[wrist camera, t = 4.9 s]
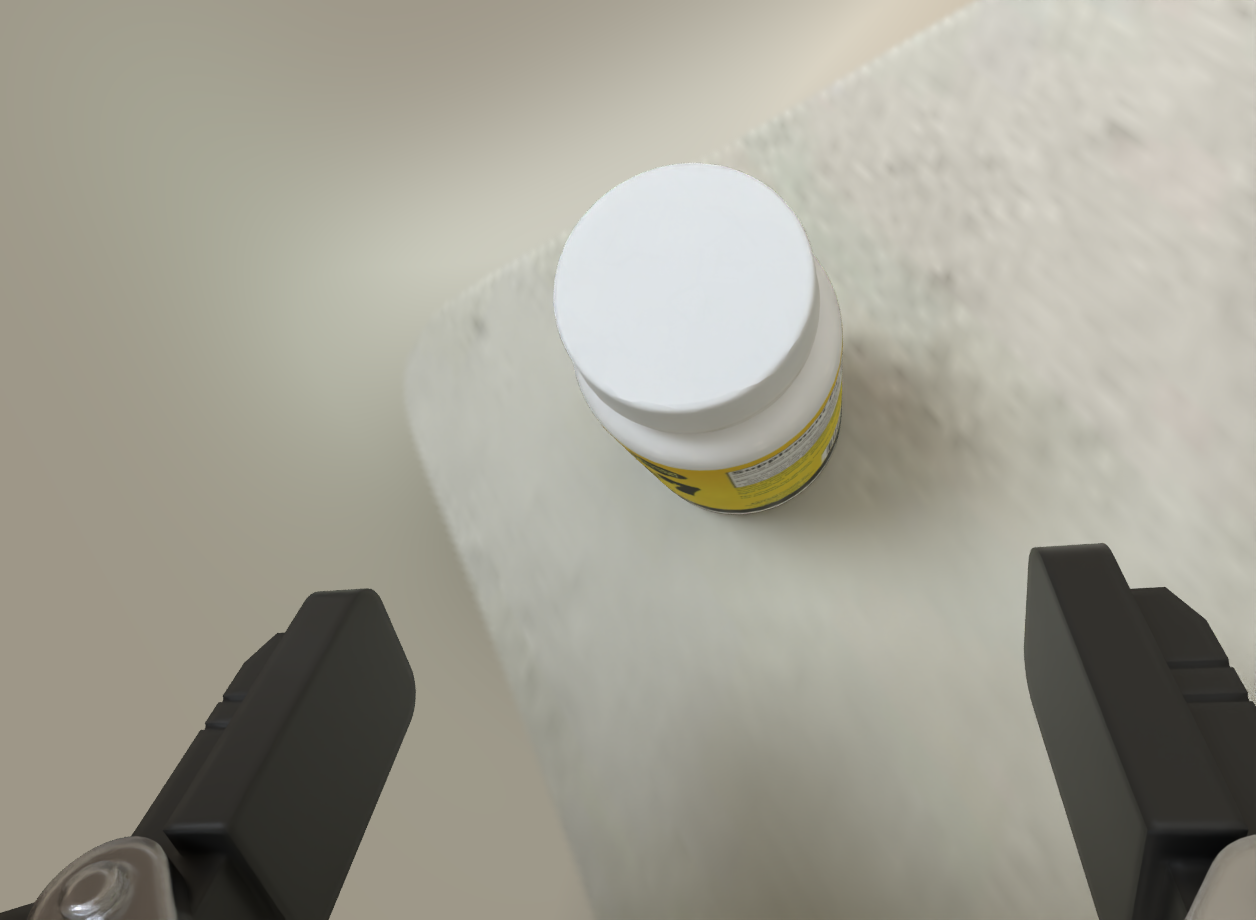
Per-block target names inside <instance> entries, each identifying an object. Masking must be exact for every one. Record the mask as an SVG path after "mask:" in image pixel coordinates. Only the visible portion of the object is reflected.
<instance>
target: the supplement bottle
mask: <svg viewBox="0 0 1256 920" xmlns="http://www.w3.org/2000/svg"><path fill="white" fill-rule="evenodd" d="M553 305H554V313H555V319H556V324H557V328H558V332H559V335H560V338H561V340H562V343H563V345H564V347H565V349H566V351H567V353H568V355H569V357H570V358H571V360H572V362H573V365H574V370H575V374H576V378H577V381H578V384H579V387H580V389H581V392H582V394H583V396H584V398H585V401H586V402H587V404H588V405H589V407H590V409H591V410H592V412H593V414H594V415H595V417H596V418H597V419H598V420H599V422H600V423H601V425H602V426H603V427H604V428H605V429H606V430H607V431H608V432H609V433H610V434H611V435H612V436H613V437H614V438H615V439H616V440H617V441H618V442H619V443H620V444H621V445H622V446H623V447H625V448H626V449H627V450H628V451H629V452H630V453H631V454H632V455H633V456H634V457H635V458H636V459H637V460H638V461H639V462H640V463H642V464H643V465H644V466H645V467H646V468H647V469H648V470H649V471H650V472H651V473H653V474H654V475H655V476H656V477H657V478H658V479H659V480H660V481H661V482H662V483H663V484H665V485H666V486H667V487H668V488H669V489H671V490H672V491H673V492H674V493H676V494H677V495H678V496H680V497H681V498H683V499H684V500H686V501H688V502H690V503H692V504H694V505H696V506H698V507H701V508H703V509H706V510H710V511H713V512H718V513H725V514H749V513H755V512H760V511H765V510H768V509H771V508H774V507H776V506H779V505H781V504H783V503H785V502H787V501H789V500H790V499H792V498H793V497H795V496H797V495H798V494H799V493H801V492H802V491H803V490H804V489H806V488H807V487H808V486H809V485H810V484H811V483H812V482H813V481H814V480H815V479H816V478H817V476H818V475H819V474H820V473H821V471H822V470H823V468H824V467H825V465H826V464H827V462H828V460H829V458H830V456H831V454H832V452H833V450H834V447H835V445H836V442H837V438H838V434H839V430H840V423H841V414H842V354H843V353H842V348H843V331H842V320H841V314H840V308H839V304H838V300H837V296H836V293H835V291H834V288H833V286H832V284H831V281H830V279H829V277H828V275H827V273H826V272H825V270H824V269H823V267H822V265H821V264H820V262H819V261H818V259H817V258H816V257H815V256H814V254H813V251H812V248H811V244H810V242H809V239H808V236H807V233H806V231H805V229H804V227H803V225H802V223H801V222H800V220H799V219H798V217H797V216H796V214H795V213H794V211H793V210H792V209H791V208H790V207H789V205H788V204H787V203H786V202H785V201H784V200H783V198H782V197H781V196H779V195H778V194H777V193H776V192H775V191H774V190H773V189H772V188H770V187H769V186H767V185H766V184H764V183H763V182H761V181H760V180H758V179H756V178H754V177H752V176H750V175H748V174H746V173H744V172H741V171H739V170H736V169H733V168H729V167H725V166H720V165H716V164H704V163H680V164H672V165H667V166H662V167H658V168H654V169H651V170H648V171H645V172H643V173H641V174H638V175H636V176H634V177H632V178H630V179H628V180H626V181H624V182H622V183H620V184H619V185H617V186H616V187H615V188H613V189H612V190H610V191H608V192H607V193H606V194H605V195H604V196H602V197H601V198H600V199H599V200H597V201H596V202H595V203H594V204H593V205H592V206H591V207H590V209H589V210H588V211H587V212H586V213H585V214H584V215H583V216H582V218H581V219H580V220H579V222H578V223H577V224H576V226H575V227H574V229H573V231H572V232H571V234H570V236H569V237H568V239H567V242H566V244H565V246H564V248H563V251H562V254H561V257H560V259H559V263H558V266H557V270H556V274H555V282H554V301H553Z"/></svg>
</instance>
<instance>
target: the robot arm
mask: <svg viewBox="0 0 1256 920" xmlns="http://www.w3.org/2000/svg"><path fill="white" fill-rule="evenodd" d="M1024 660H1025V670H1026V678H1027V684H1028V689H1029V694H1030V698H1031V701H1032V705H1033V708H1034V711H1035V715H1036V718H1037V721H1038V724H1039V727H1040V731H1041V734H1042V737H1043V740H1044V744H1045V747H1046V750H1047V753H1048V756H1049V760H1050V763H1051V766H1052V769H1053V773H1054V776H1055V779H1056V782H1057V785H1058V789H1059V792H1060V795H1061V798H1062V801H1063V805H1064V808H1065V811H1066V814H1067V818H1068V821H1069V824H1070V827H1071V830H1072V834H1073V837H1074V840H1075V843H1076V846H1077V850H1078V853H1079V856H1080V859H1081V863H1082V866H1083V869H1084V872H1085V875H1086V879H1087V882H1088V885H1089V888H1090V892H1091V895H1092V898H1093V901H1094V904H1095V908H1096V911H1097V914H1098V917H1099V920H1256V706H1255V704H1254V703H1253V701H1249V699H1248V692H1247V690H1246V689H1245V687H1244V685H1243V683H1242V682H1241V680H1240V678H1239V676H1238V675H1237V673H1236V671H1235V669H1234V668H1233V667H1230V666H1229V659H1228V657H1227V656H1226V654H1225V652H1224V650H1223V649H1222V647H1221V645H1220V643H1219V642H1218V640H1217V638H1216V636H1215V635H1214V633H1213V631H1212V629H1211V628H1210V626H1209V624H1208V622H1207V621H1206V619H1204V618H1203V617H1202V616H1201V615H1199V614H1198V613H1197V612H1196V611H1194V610H1193V609H1192V608H1191V607H1189V606H1188V605H1187V604H1186V603H1184V602H1183V601H1182V600H1181V599H1179V598H1178V597H1177V596H1176V595H1174V594H1173V593H1172V592H1171V591H1169V590H1168V589H1167V588H1166V587H1157V588H1138V589H1130V588H1129V586H1128V584H1127V582H1126V580H1125V578H1124V576H1123V574H1122V572H1121V570H1120V568H1119V565H1118V563H1117V561H1116V559H1115V557H1114V555H1113V553H1112V552H1111V550H1110V548H1109V547H1108V546H1107V545H1106V544H1104V543H1098V544H1082V545H1067V546H1051V547H1035V548H1032V550H1031V552H1030V555H1029V563H1028V581H1027V600H1026V619H1025V637H1024ZM415 693H416V690H415V681H414V676H413V672H412V669H411V667H410V665H409V662H408V660H407V658H406V655H405V653H404V651H403V648H402V646H401V644H400V641H399V639H398V637H397V635H396V632H395V630H394V628H393V626H392V623H391V621H390V619H389V616H388V614H387V612H386V609H385V607H384V605H383V602H382V600H381V598H380V597H379V595H378V594H377V593H376V592H375V591H374V590H372V589H353V590H352V589H351V590H336V591H320V592H315V593H313V594H311V595H310V596H309V597H308V598H307V599H306V600H305V602H304V603H303V605H302V607H301V608H300V610H299V611H298V613H297V614H296V616H295V618H294V619H293V621H292V622H291V624H290V626H289V627H288V629H287V631H286V632H285V633H277V634H276V635H275V636H274V637H272V638H271V639H270V640H269V641H268V642H267V643H266V644H265V645H263V646H262V647H261V648H260V649H259V650H258V651H257V652H256V653H255V654H254V655H252V656H251V657H250V658H249V659H248V660H247V661H246V662H245V663H244V664H243V665H242V667H241V669H240V670H239V672H238V673H237V675H236V676H235V678H234V680H233V681H232V682H231V684H230V685H229V687H228V689H227V690H226V692H225V693H224V695H223V702H219V703H218V704H217V705H216V707H215V709H214V710H213V712H212V713H211V715H210V716H209V718H208V719H207V721H206V722H205V724H206V728H205V730H200V732H199V733H198V735H197V736H196V738H195V739H194V741H193V742H192V744H191V745H190V747H189V749H188V750H187V752H186V753H185V755H184V756H183V758H182V759H181V761H180V763H179V764H178V766H177V767H176V769H175V770H174V772H173V773H172V775H171V776H170V778H169V779H168V781H167V782H166V784H165V785H164V787H163V788H162V790H161V792H160V793H159V795H158V796H157V798H156V799H155V801H154V802H153V804H152V805H151V807H150V808H149V810H148V812H147V813H146V815H145V816H144V818H143V819H142V821H141V822H140V824H139V825H138V827H137V828H136V830H135V831H134V833H133V834H132V836H131V837H124V838H119V839H116V840H112V841H109V842H106V843H104V844H102V845H100V846H98V847H95V848H93V849H92V850H90V851H88V852H87V853H85V854H83V855H82V856H80V857H79V858H77V859H76V860H75V861H73V862H72V863H70V864H69V865H68V866H67V867H66V868H64V869H63V870H62V871H61V872H60V873H59V874H58V875H57V876H56V877H55V878H54V879H53V880H52V881H51V882H50V883H49V884H48V885H47V887H46V888H45V889H44V890H43V891H42V893H41V894H40V896H39V897H38V898H37V900H36V901H35V902H34V903H31V904H28V905H25V906H21V907H18V908H15V909H12V910H9V911H5V912H2V913H0V920H329V917H330V915H331V912H332V910H333V908H334V905H335V903H336V900H337V898H338V896H339V893H340V891H341V888H342V886H343V883H344V881H345V879H346V876H347V874H348V871H349V869H350V866H351V864H352V862H353V859H354V857H355V855H356V852H357V850H358V847H359V845H360V842H361V840H362V838H363V835H364V833H365V830H366V828H367V825H368V823H369V821H370V818H371V816H372V813H373V811H374V809H375V806H376V804H377V801H378V799H379V797H380V794H381V792H382V789H383V787H384V785H385V782H386V780H387V777H388V775H389V772H390V770H391V768H392V765H393V763H394V760H395V758H396V755H397V753H398V751H399V748H400V746H401V743H402V741H403V738H404V736H405V734H406V731H407V729H408V727H409V724H410V722H411V719H412V716H413V712H414V707H415Z"/></svg>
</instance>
